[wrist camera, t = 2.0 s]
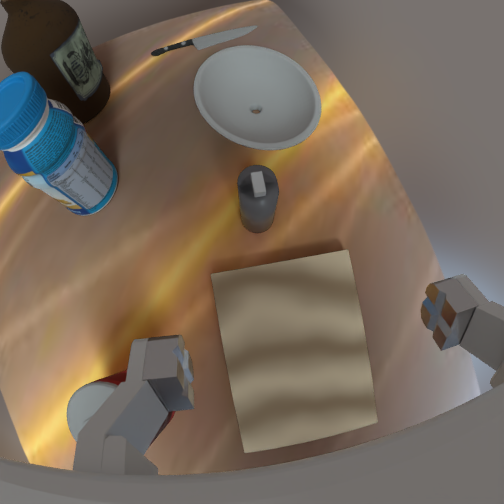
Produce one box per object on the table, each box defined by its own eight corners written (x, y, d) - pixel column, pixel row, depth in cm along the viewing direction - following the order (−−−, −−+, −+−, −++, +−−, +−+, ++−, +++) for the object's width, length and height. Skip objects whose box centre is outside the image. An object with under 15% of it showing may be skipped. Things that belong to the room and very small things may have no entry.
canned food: (101, 386, 33) (51, 405, 22) (151, 353, 34) (111, 365, 23) (138, 439, 32) (101, 476, 21) (191, 409, 32) (167, 443, 22)
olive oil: (45, 130, 40) (-45, 29, 15) (71, 78, 42) (6, -27, 18) (99, 130, 40) (11, 2, 15) (124, 74, 42) (68, -52, 17)
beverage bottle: (122, 209, 37) (31, 121, 18) (65, 224, 37) (-41, 159, 17) (119, 150, 39) (48, 48, 19) (65, 168, 38) (-20, 86, 19)
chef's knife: (270, 35, 44) (263, 25, 44) (270, 31, 43) (264, 20, 43) (154, 66, 42) (151, 54, 43) (153, 61, 41) (149, 50, 42)
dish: (180, 91, 41) (173, 68, 36) (269, 57, 42) (271, 33, 37) (237, 190, 38) (236, 171, 33) (338, 143, 39) (348, 122, 34)
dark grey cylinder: (268, 194, 37) (273, 157, 29) (276, 230, 37) (283, 201, 28) (237, 199, 37) (234, 163, 29) (244, 235, 36) (242, 208, 28)
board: (373, 419, 32) (377, 422, 31) (244, 448, 31) (244, 453, 30) (344, 252, 36) (347, 249, 35) (212, 275, 36) (210, 273, 34)
